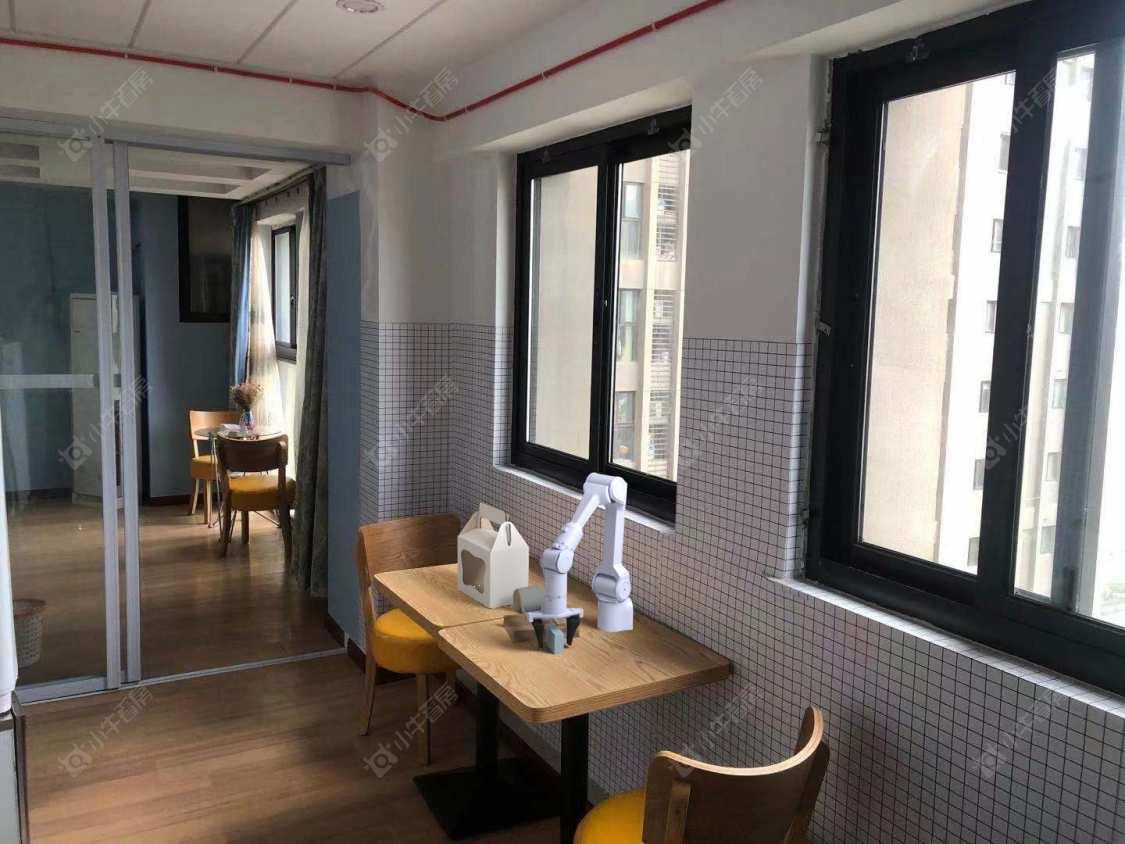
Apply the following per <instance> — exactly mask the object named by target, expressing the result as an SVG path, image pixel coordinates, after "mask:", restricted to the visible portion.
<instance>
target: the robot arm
mask: <svg viewBox="0 0 1125 844" xmlns="http://www.w3.org/2000/svg"><path fill="white" fill-rule="evenodd" d="M582 485H583V486H582V488H583V489H582V490H583V495H582V497H581V499H580V502H579V503H578V505H577V508H576V509H575V511H574V514H573V516H572V518H571V520H570V522H567V523H564V524H563V526H562V527H561V529H560V531H559V532H558V534H557V535H556V538H555V539H554V541H553V542H552V545H551V546H550V547H548V548H547V549H545V550H543V552H542V554H541V557H540V559H539V565H540V566H541V568H542V575H543V576H544V596H545V599H544V609H543V610H539V611H532V612H526V613H527V620H528V621H529V622H531V623H532V625H533V628H534V630H535V633H536V636H537V640H538V641H537V645H538V648H539V649H544V640H543V632H544V625H543V622H542V620H548V619H559V618H566V624H567V637H566V638H565V639H566V644H567V645H568V647H569V646H572V643H573V640H574V638H573V637H574V634H575V632H576V630H577V628H578V626H580V625H581V619H580V618H584V609H583V608H582V607H567V604H568V603H567V601H568V600H567V598H568V572H569V571H570V569H571V568H572V566H573V560H574V559H573V558H574V556H575V550H576V548H578V545H579V543H580V541H581V540H582V538H583V536H584V532H583V528H584V526H585V524H586V523H587V522H588V520H589V519H590V517H591V516H592V514H593V513H594V512H595V510H596V509H597V507H598V506H602V505H603V506H604V508H605V513H604V525H603V527H604V528H603V542H602V559H601V564H600V565H598V566H597V567H595V569H594V576H593V578H592V580H591V590H592V592H593V593H594V594H595V598H597V621H596V622H597V626H596V627H597V629H598V630H599V631H602V632H606V633H607V632H608V633H616V632H620V631H631V630H633V629H634V627H633V626H634V605H633V601H632V599H631V598H630V597H629V596H630V594H631V590H632V583H631V581H630V572H629V571H628V570H627V569H626V568H625V567H624V566H623V548H624V547H623V546H624V534H625V533H624V532H625V517H626V515H625V514H626V504H627V491H628V490H627V489H628V483H627V481H625V480H624V478H622V477H620V476H614V475H613V476H612V475H607V474H600V473H597V472H591V473H590V474H588V475H587V477H586V479H585V482H584V484H582Z"/></svg>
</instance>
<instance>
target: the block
mask: <svg viewBox="0 0 1125 844" xmlns="http://www.w3.org/2000/svg"><path fill="white" fill-rule="evenodd" d="M564 641H565V639H564V634H563V632H562V631H561V630H560V629H559V628H558V627H557V626H556V625H555V624H546V640H545V645H546V646H547V647H548V648H549V649H550V651H551V652H552V653H553V654H554V655H563V654H564V653H565V650H564V649H565V647H564V646H565V642H564Z"/></svg>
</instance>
